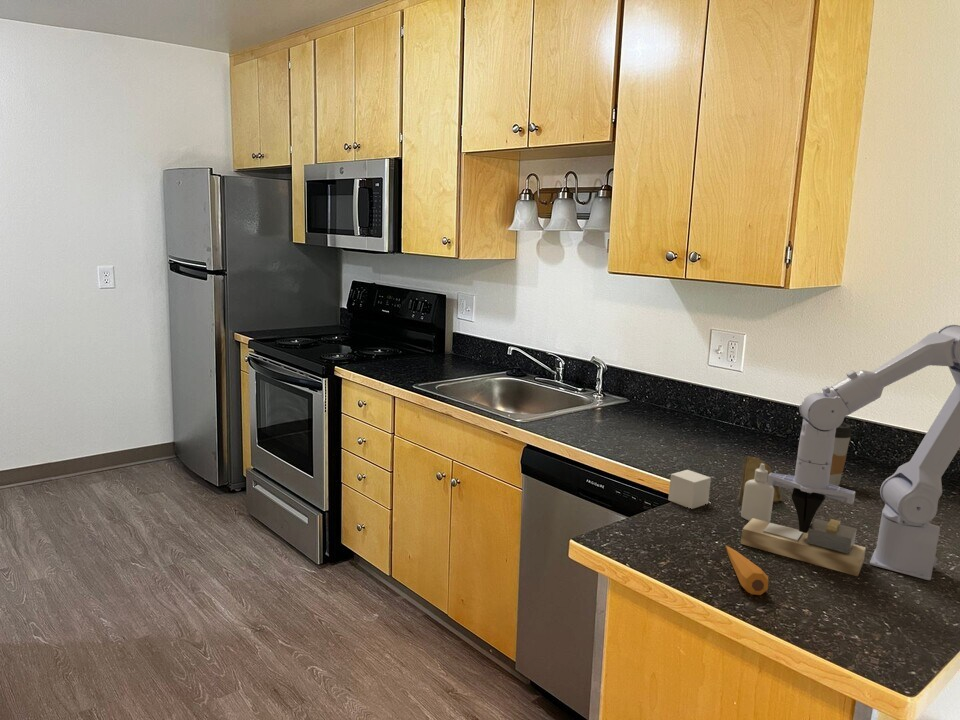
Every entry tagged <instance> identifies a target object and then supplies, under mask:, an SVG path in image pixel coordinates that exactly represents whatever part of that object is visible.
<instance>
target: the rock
mask: <svg viewBox="0 0 960 720" xmlns="http://www.w3.org/2000/svg"><path fill="white" fill-rule="evenodd" d="M761 464H765V470H767V471H768V475H769V474H770V473H773V472H772V470H771V466H770V465H769V464H767V463H765V462H764V461H763V460H762V459H760V458H758V457H756V456H755V457H754V456H745V457H744V460H743V465H742V470H741V484H740V487H739V493H738V503H739V504H740V505H741V506H742V503H743V495H744V488H745V483H746V482H747V481H749V480H753V479H754V477H755V470H756V469H759V468H760V465H761ZM767 481H768V477H767ZM767 481H766V482H767ZM773 487H774V497H773V503H774V502H781V501H782V500H783V498H782V493H781V490H780V486H775V485H773Z"/></svg>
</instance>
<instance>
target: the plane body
mask: <svg viewBox="0 0 960 720" xmlns="http://www.w3.org/2000/svg"><path fill="white" fill-rule="evenodd" d="M807 537H808V532H807V533H804V532H800V531H799V529H797V528H793V527H789V526H784V525H781V524H777V523H773V522H771V521H770V522H766V521H762V520H758V519H755V518H752V519H751V520H750V521H748V522H747V523H746V524H745V525H744V527H743V528H742V532H741V538H740V544H741V545H744V546H748V547H751V548H755V549H759V550H762V551H766V552H769V553H773V554H776V555H779V556H784V557H787V558H791V559H795V560H797V561H800V562H804V563H805V562H806V563H807V564H808V563H809V564H811V565H814V566H820V567H822V568H826V569H829V570H833V571H837V572H839V573H840V572H841V573H845V574H847V575H851V576H855V577H859V575H860V573H861V570H862V567H863V565H864V562H865V555H866V550H867V549H866V548H867V547H865V546H862V545H858V544H855V543H854V545H853V548H852V550H851V552H850V554H847V553H843V552H840V551H836V550H832V549H828V548H825V547H821V546H817V545H813V544H810V543H807Z"/></svg>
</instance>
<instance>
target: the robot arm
mask: <svg viewBox="0 0 960 720" xmlns="http://www.w3.org/2000/svg"><path fill="white" fill-rule="evenodd" d="M928 366H929V367H930V366H937V367H948V368H949V371H950V373H951V375H952V377H953V378H952V379H953V380H954V382H955V386H954V387H953V389H952V391H951V392H950V394H949V396H948V398H946V401H945V402H944V404H943V405H942V407H941V409H940V410H939V412H938V414H937V416H936V417H935V419H934V420H933V422H932V424H931V425H930V427H929V429H928V430H927V432H926V434H925V436H924V437H923V439H922V440H921V442H920V443H919V446H918V447H917V448H916V451H915V452H914V454H913V455H912V456H911V458H910V460H909V461H907V462H905V463H903V464H902V465H900V466H898V467H897V469H896V471H895V472H894V473H893V474H892V475H890V476H889V477H886V479H885V480H883V482H882V483H881V486H880V489H879V493H880V497H881V499H882V501H883V502H884V507H883V508H882V511H881V515H880V517H881V518H880V522H879V523H880V524H879V530H878V534H877V535H878V536H877V542H876V548H875V549H874V551H873V553H872V555H871V558H870V560H869V565H871V566H874V567H879V568H881V569H885V570H889V571H893V572H897V573H900V574H902V575H903V574H904V575H908V576H911V577H915V578H918V579H922V580H924V581H931V580H932V575H933V570H934V568H936V566H937V561H938V557H936V554H937V553H936V552H937V548H938V542H939V536H940V532H941V531H940V530H941V527H940V526H939V525H937V524H933V523H930V522H931V521H932V520H933V519H934V518H935V517H936V515H937V512H938V502H939V500H940V497H941V496H942V494H943V486H942V484H943V483H942V476H943V475H944V474H945V472H946V471H947V469H948V467H949V466H950V465H951V462H952V460H953V459H954V457H955V456H956V454H957V452H958V451H959V450H960V325H958V324H949V325H945V326H943V327H942V328H939V330H938V331H933V332H932V333H929V334H927V335H925V337H924V338H922V339H921V340H920V341H918V342H917V343H915V344H913V345H912V346H910V347H909V348H907V349H905V350H904V351H902V352H901V353H899V354H897V355H896V356H894V357H892V358H890V360H888V361H886V362H885V363H883V364H882V365H880V366H878V367H877V368H875V369H873V370H872V371H868V370H864V369H859V370H858V371H855V370H850V371H849V372H847V373H846V374H845V375H846V377H845V378H843V379H842V380H840V381H838V382H836V383H834V384H833V385H831V386H825V387H822V389H821V390H822V392H813V393H810V394H809V395H807V396H805V397H804V399H803V401H802V402H801V404H799V409H798V410H799V413H800V415H801V416H802V418H803V419H802V425H801V430H800V435H799V442H798V447H797V456H796V463H795V469H794V475H788V474H781V473H774V472H772V473H770V474H769V475H768V481H767V485H771V486H773V485H775V486H779V488H780V487H781V488H784V489H785V488H786V489H788V490H789V489H790V490H792V493H791V499H792V503H793V504H794V505H793V506H794V508H795V510H796V514H797V520H798V530H799V531H800V532H804V533H807V532H808V530H809V527H810V526H811V524H812V522H813V521H812V520H813V519H814V517H815V515H816V512H818V510H819V508H820V506H821V505H822V504H823V502H824V501H825V499H826V498H828V499H832V500H836V501H841V502H845V503H846V504H848V505H853V504H854V502H855V497H856V491H855V490H851V489H847V488H844V487H841V486H835V485H832V484H829V477H830V470H831V463H832V456H833V450H834V443H835V433H836V428H838V427H839V426H840V425H841V424H842V422H843V423H844V420H845V417H846V416H850V415H851V414H853V413H854V412H855V413H856V411H858V410H860V409H862V408H864V407H865V406H867V405H869V404H871V403H873V402H875V401H876V400H879V399H880V398H881V396H882V394H883V390H884V389H885V387H888V386H890V385H892V384H894V383H896V382H898V381H900V380H901V379H904V378H906V377H908V376H910V375H912V374H914V373H916V372H917V371H920V370H922V369H925V368H926V367H928Z"/></svg>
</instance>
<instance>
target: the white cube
mask: <svg viewBox="0 0 960 720" xmlns="http://www.w3.org/2000/svg"><path fill="white" fill-rule="evenodd" d="M669 480H670V481H669V490H668V498H667V499H668V501H670V502H672V503H675V504H678V505H680V506H682V507H685V508H687V507H688V508H687V509H690V508H691V509H690V510H692V509H696V508H699V507H702V506H705V504H706V505H708V504H709V498H710V492H711V491H710V490H711V481H712V477H711V476H708V475H704V474H702V473H699V472H696V471H692V470H690V469H684V470H682V471H677V472H674V473H671V474H670V479H669Z"/></svg>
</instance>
